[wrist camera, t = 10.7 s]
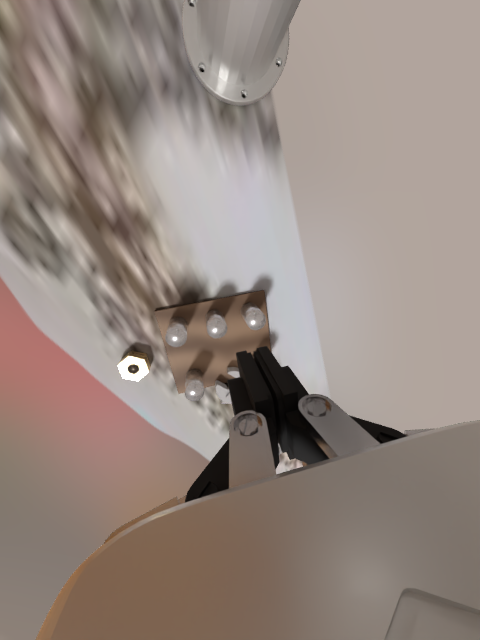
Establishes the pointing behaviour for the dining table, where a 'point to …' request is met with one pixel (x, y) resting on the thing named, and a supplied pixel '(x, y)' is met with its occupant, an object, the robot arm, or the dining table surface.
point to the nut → (134, 365)
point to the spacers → (215, 329)
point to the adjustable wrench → (224, 391)
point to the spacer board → (213, 351)
